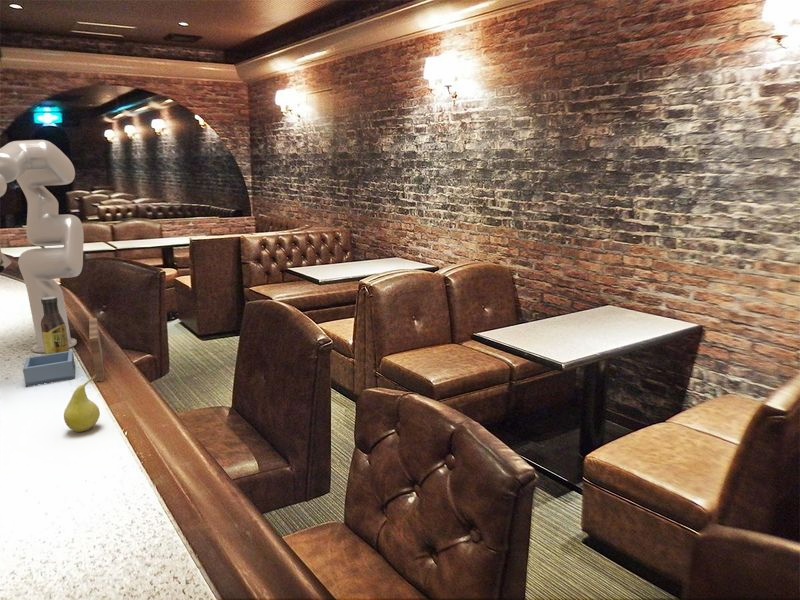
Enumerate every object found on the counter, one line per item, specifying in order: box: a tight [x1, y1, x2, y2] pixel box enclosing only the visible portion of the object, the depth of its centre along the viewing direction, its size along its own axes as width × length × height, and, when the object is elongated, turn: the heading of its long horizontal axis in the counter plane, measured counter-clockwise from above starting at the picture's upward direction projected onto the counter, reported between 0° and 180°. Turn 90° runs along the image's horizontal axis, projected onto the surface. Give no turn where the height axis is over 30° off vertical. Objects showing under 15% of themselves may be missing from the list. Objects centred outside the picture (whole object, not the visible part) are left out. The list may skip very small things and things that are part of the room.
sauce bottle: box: [41, 297, 70, 355], centre depth 182 cm, size 7×6×20 cm
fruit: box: [63, 374, 101, 433], centre depth 137 cm, size 7×8×12 cm
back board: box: [88, 317, 106, 383], centre depth 177 cm, size 24×2×12 cm, turn 26°
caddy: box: [22, 350, 76, 388], centre depth 173 cm, size 11×12×5 cm
